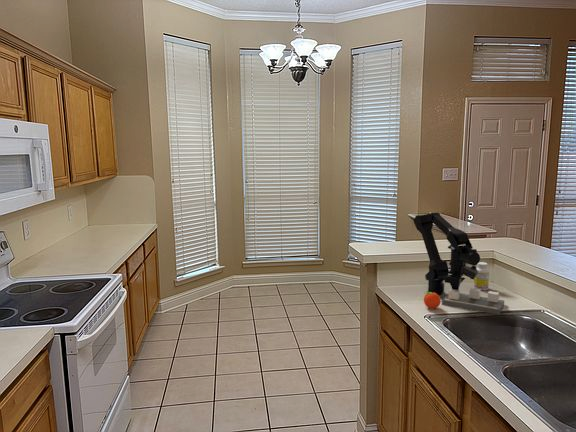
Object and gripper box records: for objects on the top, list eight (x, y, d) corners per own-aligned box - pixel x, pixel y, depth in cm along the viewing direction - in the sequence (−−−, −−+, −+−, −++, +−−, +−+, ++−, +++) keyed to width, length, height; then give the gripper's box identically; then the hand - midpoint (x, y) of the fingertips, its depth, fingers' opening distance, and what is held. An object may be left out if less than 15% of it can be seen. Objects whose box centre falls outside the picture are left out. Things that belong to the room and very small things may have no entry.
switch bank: (441, 304, 191) (442, 299, 191) (450, 295, 203) (450, 291, 203) (498, 314, 179) (499, 309, 178) (504, 304, 190) (504, 300, 190)
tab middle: (469, 297, 193) (469, 290, 192) (470, 295, 195) (471, 288, 195) (478, 299, 191) (479, 291, 190) (480, 297, 193) (480, 289, 192)
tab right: (487, 300, 189) (487, 292, 188) (488, 298, 191) (489, 291, 191) (497, 302, 186) (497, 294, 186) (498, 300, 189) (499, 292, 188)
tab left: (448, 298, 192) (448, 290, 192) (450, 296, 195) (450, 288, 194) (457, 300, 190) (458, 292, 190) (459, 298, 192) (459, 290, 192)
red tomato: (419, 309, 186) (420, 293, 185) (422, 303, 192) (422, 288, 191) (439, 311, 183) (439, 295, 182) (441, 306, 189) (441, 290, 188)
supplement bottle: (475, 285, 217) (476, 260, 216) (489, 288, 214) (491, 262, 212) (472, 289, 212) (473, 263, 210) (486, 291, 208) (488, 265, 206)
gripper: (472, 267, 180) (470, 303, 183) (480, 258, 196) (479, 291, 198) (444, 263, 186) (443, 298, 189) (455, 255, 202) (453, 287, 204)
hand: (455, 293), depth 195 cm, fingers closed
